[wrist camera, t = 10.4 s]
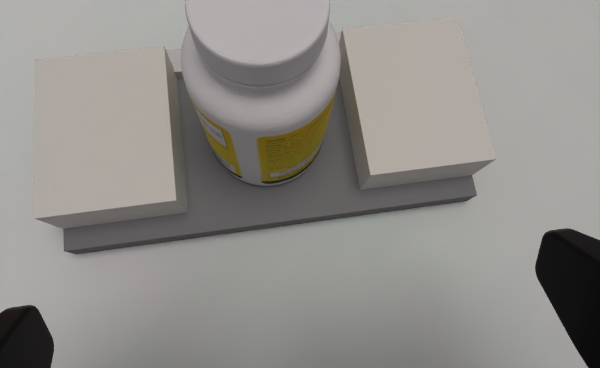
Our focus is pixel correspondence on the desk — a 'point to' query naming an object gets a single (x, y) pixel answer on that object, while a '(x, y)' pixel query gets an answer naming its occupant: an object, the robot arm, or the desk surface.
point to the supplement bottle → (262, 82)
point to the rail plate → (215, 178)
